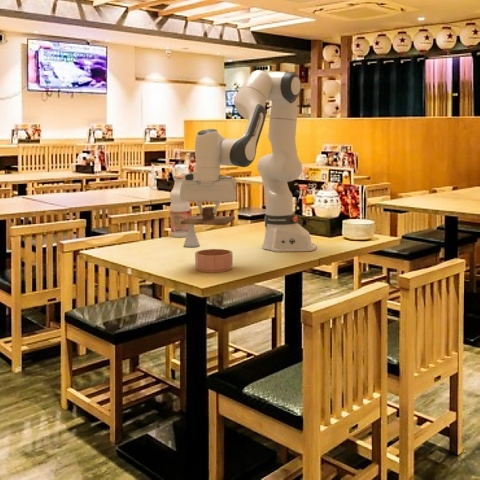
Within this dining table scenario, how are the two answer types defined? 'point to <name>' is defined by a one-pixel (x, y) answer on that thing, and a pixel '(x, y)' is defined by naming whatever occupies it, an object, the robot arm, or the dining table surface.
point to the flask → (191, 237)
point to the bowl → (214, 260)
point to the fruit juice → (178, 210)
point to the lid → (208, 218)
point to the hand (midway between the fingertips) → (208, 213)
